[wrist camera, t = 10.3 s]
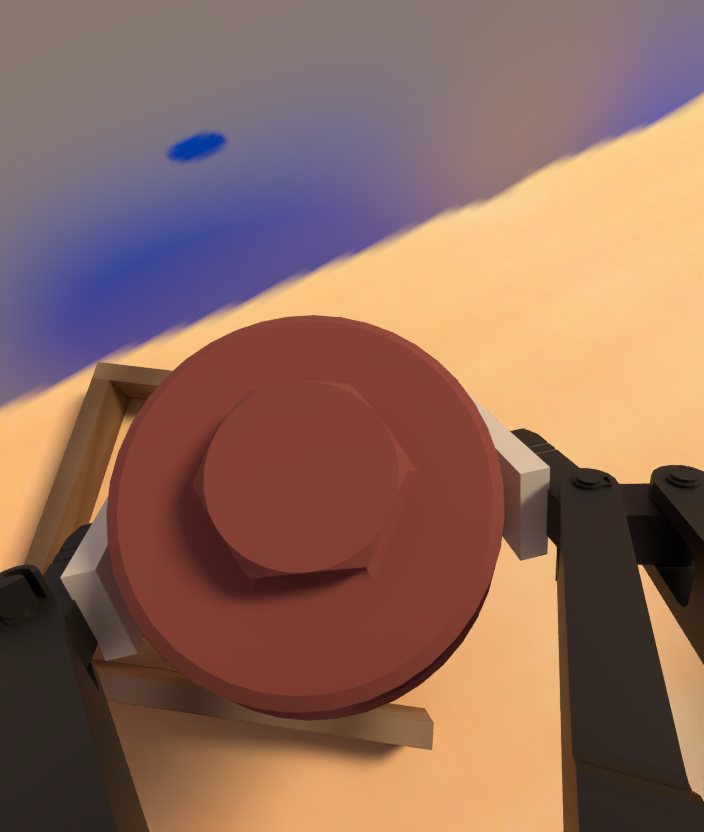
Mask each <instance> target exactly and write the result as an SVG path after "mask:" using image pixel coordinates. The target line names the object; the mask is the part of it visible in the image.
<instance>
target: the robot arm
mask: <svg viewBox="0 0 704 832" xmlns="http://www.w3.org/2000/svg"><path fill="white" fill-rule="evenodd" d="M467 394H468V393H467ZM468 395H469V394H468ZM469 396H470V395H469ZM470 398H471V399H472V400H473V402H474V403H475V405H476V407H477V408H478V410H479V412H480V414H481V416H482V418H483V420H484V421H485V423H486V425H487V427H488V429H489V432H490V435H491V438H492V440H493V443H494V446H495V449H496V452H497V454H498V459H499V464H500V469H501V474H502V480H503V485H504V513H505V517H504V525H503V533H502V536H503V537H504V539H505V540H506V541H507V543H508V544H509V546H510V547H511V548H512V550H513V551H514V552H515V554H516V555H517V557H518V558H519V559H520V561H521V560H525V559H529V558H533V557H538V556H542V555H546V554H547V546H548V537H549V538H550V539H551V540H552V542H553V543H554V544H555V545H556V546H557V559H556V581H557V597H558V635H559V672H560V710H561V748H562V785H563V823H564V832H704V801H703V799H702V798H701V796H700V795H698V794H697V793H695V792H693V791H692V789H691V787H690V785H689V783H688V779H687V776H686V772H685V768H684V763H683V759H682V755H681V750H680V746H679V742H678V737H677V733H676V729H675V724H674V720H673V716H672V712H671V707H670V703H669V699H668V694H667V690H666V686H665V681H664V677H663V673H662V669H661V664H660V660H659V656H658V651H657V647H656V643H655V638H654V634H653V630H652V625H651V621H650V617H649V613H648V608H647V604H646V600H645V595H644V591H643V587H642V582H641V578H640V574H639V569H638V565H643V567H644V568H645V570H646V572H647V573H648V575H649V576H650V578H651V580H652V581H653V583H654V585H655V586H656V588H657V589H658V591H659V593H660V594H661V596H662V598H663V599H664V601H665V602H666V604H667V606H668V607H669V609H670V611H671V612H672V614H673V615H674V617H675V619H676V620H677V622H678V624H679V625H680V627H681V628H682V630H683V632H684V633H685V635H686V637H687V638H688V640H689V641H690V643H691V645H692V646H693V648H694V650H695V651H696V653H697V654H698V656H699V658H700V659H701V661H702V663H703V664H704V471H701V470H699V469H696V468H693V467H689V466H688V467H687V466H683V465H668V466H662V467H659V468H657V469H655V470H653V473H652V475H651V480H650V484H618V482H617V481H616V479H615V478H614V477H612V476H611V475H609V474H608V473H605V472H603V471H600V470H596V469H589V468H579V467H578V466H576V465H575V464H574V463H573V462H572V461H570V460H569V459H568V458H567V457H565V456H564V455H563V454H562V453H560V452H559V451H558V450H555V448H554V447H553V446H552V445H551V444H549V443H547V441H546V440H544V439H543V438H542V437H541V436H540V435H538V434H536V433H534V432H531V431H529V430H526V429H523V428H522V429H518V430H513V431H509V430H508V429H507V428H506V427H505V426H503V425H502V424H501V423H500V422H499V421H498V420H497V419H496V418H494V417H493V416H492V415H491V414H490V413H489V412H488V411H487V410H486V409H484V408H483V407H482V406H481V405H480V404H479V403H478V402H477V401H475V400H474V399H473V398H472V397H471V396H470ZM107 504H108V498H107V499H106V501H105V503H104V504H103V506H102V508H101V509H100V511H99V513H98V515H97V516H96V518H95V520H94V521H93V523H90V524H85V525H81V526H80V527H79V528H78V529H77V530H76V531H74V532H73V533H72V534H71V535H70V536H69V537H68V538H67V539H66V540H65V542H64V544H63V545H62V547H61V548H60V550H59V553H57V555H56V556H55V558H54V559H53V561H52V562H53V563H52V564H50V565H49V567H48V569H47V570H46V572H45V573H44V575H43V576H42V574H41V572H40V571H39V569H38V568H37V567H36V566H35V565H28V564H26V565H21V566H16V567H13V568H11V569H8V570H5V571H3V572H1V573H0V832H149V829H148V826H147V823H146V820H145V817H144V814H143V811H142V808H141V805H140V802H139V799H138V796H137V792H136V789H135V786H134V783H133V780H132V777H131V774H130V771H129V768H128V765H127V762H126V759H125V756H124V753H123V749H122V746H121V743H120V740H119V737H118V734H117V731H116V728H115V725H114V722H113V719H112V716H111V713H110V710H109V706H108V703H107V700H106V697H105V694H104V691H103V688H102V685H101V682H100V679H99V676H98V673H97V670H96V669H95V667H94V665H93V663H92V662H91V659H92V657H93V654H94V652H95V649H96V647H97V645H98V647H99V649H100V651H101V653H102V654H103V656H104V658H105V660H106V661H108V660H113V659H117V658H121V657H125V656H129V655H133V654H137V653H138V650H139V647H140V643H141V640H142V637H143V634H142V632H141V630H140V629H139V627H138V626H137V624H136V622H135V621H134V619H133V617H132V616H131V614H130V613H129V611H128V609H127V608H126V605H125V603H124V600H123V598H122V595H121V593H120V590H119V587H118V585H117V582H116V580H115V577H114V573H113V568H112V563H111V559H110V554H109V549H108V541H107V516H106V512H107Z"/></svg>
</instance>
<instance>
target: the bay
mask: <svg viewBox="0 0 704 832" xmlns="http://www.w3.org/2000/svg"><path fill="white" fill-rule="evenodd" d="M171 372H172V371H169V370H161V369H152V368H144V367H135V366H127V365H118V364H110V363H101V362H98V364H97V366H96V369H95V372H94V375H93V377H92V380H91V383H90V385H89V388H88V391H87V394H86V396H85V399H84V402H83V405H82V407H81V410H80V413H79V416H78V418H77V421H76V424H75V427H74V429H73V432H72V435H71V438H70V440H69V443H68V446H67V449H66V451H65V454H64V457H63V459H62V462H61V465H60V468H59V470H58V473H57V476H56V479H55V481H54V484H53V487H52V490H51V492H50V495H49V498H48V501H47V503H46V506H45V509H44V512H43V514H42V517H41V520H40V522H39V525H38V528H37V531H36V533H35V536H34V539H33V542H32V544H31V547H30V550H29V553H28V555H27V558H26V561H25V564H24V565H26V564H28V565H35V566H36V567H37V568H38V569H39V571H40V572H41V574H42V576H43V575H44V573H45V572H46V570H47V569H48V567H49V565H50V564H52V563H53V562H52V561H53V559H54V558H55V556H56V555H57V553H59V550H60V548H61V547H62V545H63V544H64V542H65V540H66V539H67V538H68V537H69V536H70V535H71V534H72V533H73V532H74V531H76V530H77V529H78V528H79V527H80V526H81V525H85V524H89V521H90V518H91V515H92V512H93V509H94V506H95V503H96V500H97V497H98V494H99V490H100V487H101V484H102V481H103V478H104V475H105V472H106V469H107V466H108V463H109V460H110V457H111V454H112V451H113V448H114V445H115V442H116V439H117V435H118V432H119V429H120V426H121V423H122V420H123V417H124V414H125V411H126V408H127V405H128V402H129V399H130V398H137V399H146V400H147V399H148V398H149V396H150V395H151V394H152V393H153V392H154V391H155V389H156V388H157V387H158V386H159V385H160V384H161V382H162V381H163V380H164V379H165V378H166V377H167V376H168V375H169V374H170V373H171ZM91 662H92V663H93V665H94V667H95V669H96V670H97V673H98V676H99V679H100V682H101V685H102V688H103V691H104V694H105V697H106V700H107V701H113V702H120V703H126V704H133V705H139V706H146V707H153V708H159V709H166V710H172V711H179V712H185V713H192V714H198V715H205V716H211V717H218V718H225V719H231V720H238V721H244V722H251V723H257V724H264V725H270V726H277V727H284V728H290V729H297V730H303V731H310V732H316V733H323V734H329V735H336V736H342V737H349V738H356V739H362V740H369V741H375V742H382V743H388V744H395V745H401V746H408V747H414V748H421V749H428V750H432V742H433V724H434V723H433V721H432V719H431V718H430V716H429V714H428V713H427V711H426V710H425V709H424V708H417V707H410V706H403V705H397V704H390V703H387V704H385V705H383V706H380V707H378V708H375V709H373V710H371V711H368V712H365V713H360V714H356V715H352V716H348V717H344V718H339V719H327V720H313V721H305V720H295V719H285V718H277V717H274V716H270V715H266V714H263V713H259V712H255V711H252V710H249V709H247V708H244V707H242V706H240V705H238V704H236V703H234V702H232V701H229V700H227V699H225V698H223V697H221V696H219V695H217V694H215V693H213V692H211V691H209V690H207V689H205V688H203V687H201V686H199V685H197V684H195V683H194V682H193V681H191V680H190V679H189V678H187V677H186V676H185V675H183V674H182V673H181V672H175V671H168V670H161V669H155V668H148V667H141V666H134V665H128V664H121V663H114V662H108V661H101V660H94V659H91Z"/></svg>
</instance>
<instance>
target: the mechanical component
mask: <svg viewBox="0 0 704 832" xmlns="http://www.w3.org/2000/svg"><path fill="white" fill-rule="evenodd" d="M106 516H107V541H108V549H109V554H110V559H111V563H112V568H113V573H114V577H115V580H116V582H117V585H118V587H119V590H120V593H121V595H122V598H123V600H124V603H125V605H126V608H127V609H128V611H129V613H130V614H131V616H132V617H133V619H134V621H135V622H136V624H137V626H138V627H139V629H140V630H141V632H142V634H143V635H144V637H145V638H146V639H147V640H148V641H149V642H150V643H151V645H152V646H153V647H154V648H155V649H156V650H157V651H158V652H159V653H160V655H161V656H162V657H163V658H164V659H165V660H166V661H167V662H168V663H169V664H170V665H172V666H173V667H174V668H176V669H177V670H178V671H180V672H181V673H182V674H183V675H185V676H186V677H187V678H189V679H190V680H191V681H193V682H194V683H195V684H197V685H199V686H201V687H203V688H205V689H207V690H209V691H211V692H213V693H215V694H217V695H219V696H221V697H223V698H225V699H227V700H229V701H232V702H234V703H236V704H238V705H240V706H242V707H244V708H247V709H249V710H252V711H255V712H259V713H263V714H266V715H270V716H274V717H277V718H285V719H295V720H305V721H313V720H327V719H339V718H344V717H348V716H352V715H356V714H360V713H365V712H368V711H371V710H373V709H375V708H378V707H380V706H383V705H385V704H387V703H390V702H392V701H395V700H396V699H398V698H400V697H401V696H403V695H405V694H406V693H408V692H409V691H411V690H413V689H414V688H416V687H417V686H419V685H421V684H422V683H423V682H424V681H425V680H426V679H428V678H429V677H430V676H431V675H432V674H433V673H435V672H436V671H437V670H438V669H439V668H440V667H441V666H443V665H444V663H445V662H446V661H447V660H448V659H449V658H450V656H451V655H452V654H453V653H454V652H455V651H456V649H457V648H458V647H459V646H460V645H461V643H462V642H463V641H464V639H465V637H466V636H467V634H468V632H469V631H470V629H471V628H472V626H473V624H474V623H475V621H476V619H477V618H478V615H479V613H480V611H481V608H482V606H483V604H484V601H485V599H486V597H487V594H488V592H489V588H490V585H491V581H492V577H493V573H494V569H495V566H496V562H497V559H498V555H499V552H500V548H501V541H502V533H503V525H504V517H505V513H504V485H503V480H502V474H501V469H500V464H499V459H498V454H497V452H496V449H495V446H494V443H493V440H492V438H491V435H490V432H489V429H488V427H487V425H486V423H485V421H484V420H483V418H482V416H481V414H480V412H479V410H478V408H477V407H476V405H475V403H474V402H473V400H472V399H471V398H470V396H469V395H468V394H467V392H466V391H465V390H464V388H463V387H462V386H461V384H460V383H459V382H458V380H457V379H456V378H455V377H454V376H453V375H452V374H451V373H450V372H449V371H448V370H447V369H446V368H444V367H443V366H442V365H441V364H440V363H439V362H438V361H437V360H436V359H434V358H433V357H432V356H430V355H429V354H428V353H426V352H425V351H424V350H422V349H421V348H419V347H418V346H417V345H415V344H413V343H411V342H410V341H408V340H406V339H404V338H402V337H400V336H398V335H396V334H395V333H393V332H390V331H388V330H385V329H382V328H379V327H377V326H374V325H371V324H368V323H365V322H360V321H355V320H351V319H346V318H341V317H329V316H316V315H312V316H295V317H284V318H279V319H274V320H269V321H264V322H260V323H257V324H254V325H251V326H248V327H245V328H242V329H239V330H236V331H234V332H232V333H230V334H227V335H225V336H223V337H221V338H219V339H217V340H215V341H213V342H211V343H209V344H208V345H206V346H205V347H203V348H202V349H201V350H199V351H198V352H196V353H195V354H193V355H192V356H190V357H189V358H187V359H186V360H185V361H184V362H183V363H181V364H180V365H179V366H178V367H177V368H176V369H175V370H174V371H172V372H171V373H170V374H169V375H168V376H167V377H166V378H165V379H164V380H163V381H162V382H161V384H160V385H159V386H158V387H157V388H156V389H155V391H154V392H153V393H152V394H151V395H150V396H149V398H148V399H147V400H146V402H145V403H144V405H143V406H142V408H141V409H140V411H139V413H138V414H137V416H136V417H135V419H134V420H133V422H132V424H131V425H130V428H129V430H128V432H127V434H126V436H125V439H124V441H123V443H122V445H121V448H120V450H119V452H118V456H117V459H116V463H115V466H114V470H113V473H112V477H111V480H110V487H109V495H108V504H107V512H106Z"/></svg>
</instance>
